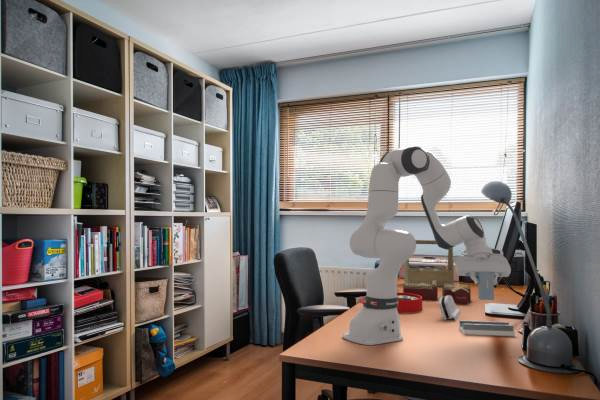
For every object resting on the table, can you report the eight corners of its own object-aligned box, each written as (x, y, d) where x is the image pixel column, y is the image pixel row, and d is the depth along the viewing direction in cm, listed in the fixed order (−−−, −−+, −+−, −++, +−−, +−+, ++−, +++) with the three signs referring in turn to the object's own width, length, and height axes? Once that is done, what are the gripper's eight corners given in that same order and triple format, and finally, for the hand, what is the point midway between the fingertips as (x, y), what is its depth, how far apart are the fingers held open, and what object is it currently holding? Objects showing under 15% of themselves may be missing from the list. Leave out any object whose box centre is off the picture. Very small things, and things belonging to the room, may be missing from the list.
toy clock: (373, 297, 206) (387, 291, 224) (373, 309, 206) (387, 302, 223) (416, 301, 196) (426, 294, 214) (416, 314, 196) (426, 306, 214)
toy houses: (466, 298, 238) (466, 279, 238) (473, 305, 218) (473, 285, 218) (382, 294, 247) (382, 276, 247) (382, 301, 227) (382, 281, 227)
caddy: (449, 284, 285) (449, 238, 286) (454, 286, 274) (454, 238, 275) (404, 283, 286) (404, 237, 287) (407, 286, 276) (407, 238, 277)
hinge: (456, 321, 184) (447, 297, 186) (445, 323, 186) (436, 300, 188) (461, 313, 199) (453, 291, 201) (451, 315, 201) (443, 294, 203)
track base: (464, 334, 164) (464, 324, 164) (458, 328, 172) (458, 319, 172) (514, 336, 162) (514, 326, 162) (506, 330, 170) (506, 321, 170)
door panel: (480, 299, 166) (480, 273, 166) (478, 298, 169) (478, 272, 169) (494, 300, 165) (493, 273, 166) (491, 298, 168) (491, 272, 168)
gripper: (453, 250, 176) (459, 278, 166) (506, 251, 173) (516, 279, 163) (450, 260, 180) (456, 288, 170) (502, 261, 178) (512, 289, 168)
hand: (486, 283), depth 167 cm, fingers closed on door panel, 5 cm apart
